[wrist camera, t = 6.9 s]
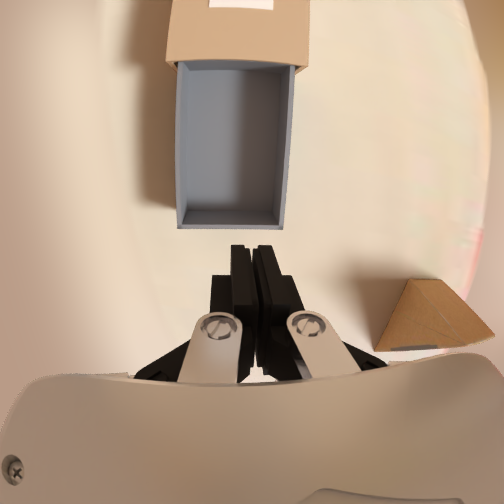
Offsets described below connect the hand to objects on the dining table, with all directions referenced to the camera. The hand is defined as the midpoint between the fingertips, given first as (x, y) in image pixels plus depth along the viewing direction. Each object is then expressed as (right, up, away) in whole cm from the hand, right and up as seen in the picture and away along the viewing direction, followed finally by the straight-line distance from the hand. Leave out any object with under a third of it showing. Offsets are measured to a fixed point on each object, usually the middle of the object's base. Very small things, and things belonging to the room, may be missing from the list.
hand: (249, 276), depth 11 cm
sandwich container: (+26, -10, +28) cm, 39 cm away
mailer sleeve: (-1, +25, +7) cm, 26 cm away
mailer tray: (-2, +12, +13) cm, 18 cm away
